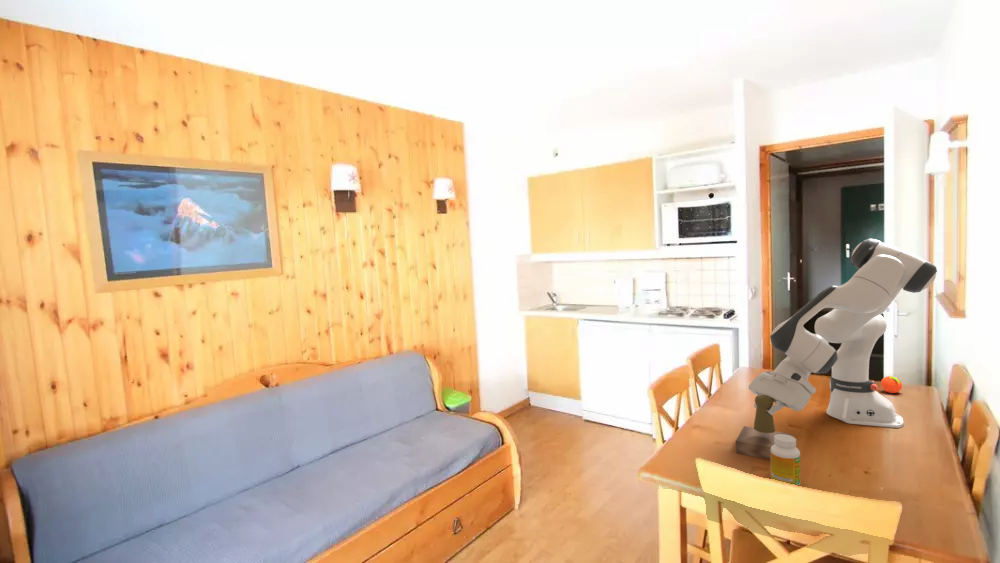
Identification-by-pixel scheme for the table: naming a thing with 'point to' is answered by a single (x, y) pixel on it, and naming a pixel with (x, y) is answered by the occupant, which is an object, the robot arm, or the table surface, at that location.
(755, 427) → the olive pawn
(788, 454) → the supplement bottle
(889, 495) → the table surface
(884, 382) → the clementine
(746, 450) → the walnut plinth
